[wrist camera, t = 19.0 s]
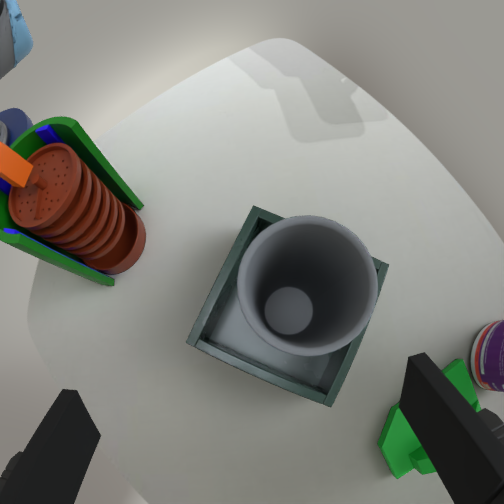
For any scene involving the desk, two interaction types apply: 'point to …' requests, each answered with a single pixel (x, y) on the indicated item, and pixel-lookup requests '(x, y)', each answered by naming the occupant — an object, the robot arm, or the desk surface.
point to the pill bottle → (489, 357)
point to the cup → (307, 285)
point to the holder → (256, 349)
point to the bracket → (404, 439)
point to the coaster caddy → (68, 202)
